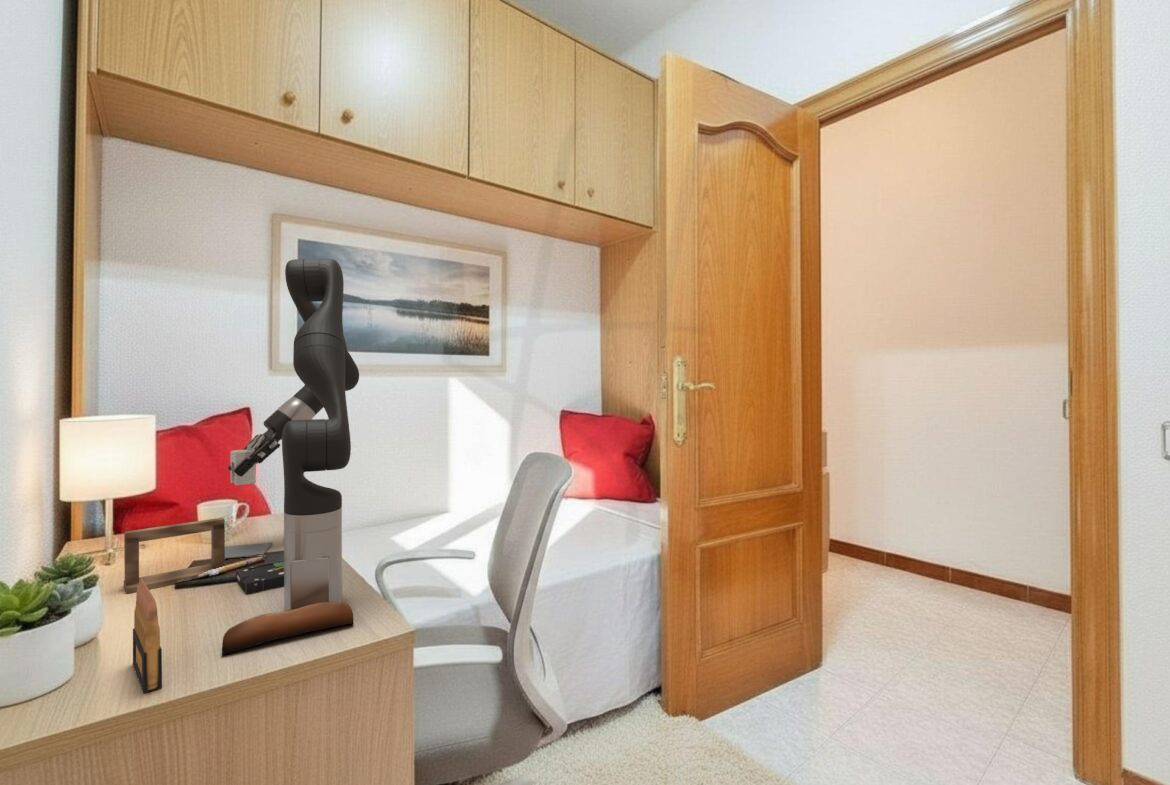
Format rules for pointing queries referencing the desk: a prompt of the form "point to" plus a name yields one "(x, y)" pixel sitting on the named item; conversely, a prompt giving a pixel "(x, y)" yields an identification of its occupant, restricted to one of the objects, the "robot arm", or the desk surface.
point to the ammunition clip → (147, 640)
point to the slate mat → (246, 550)
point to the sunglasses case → (286, 624)
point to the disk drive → (261, 577)
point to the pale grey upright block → (236, 460)
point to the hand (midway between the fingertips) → (234, 472)
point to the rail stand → (167, 531)
